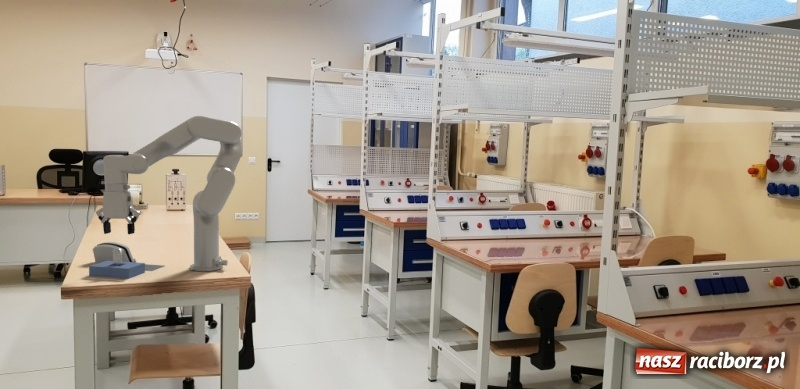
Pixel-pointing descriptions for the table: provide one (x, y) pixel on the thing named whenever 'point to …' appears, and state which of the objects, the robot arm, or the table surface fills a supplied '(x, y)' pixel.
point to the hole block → (117, 270)
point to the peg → (117, 257)
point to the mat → (152, 267)
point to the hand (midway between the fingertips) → (119, 233)
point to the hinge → (111, 252)
